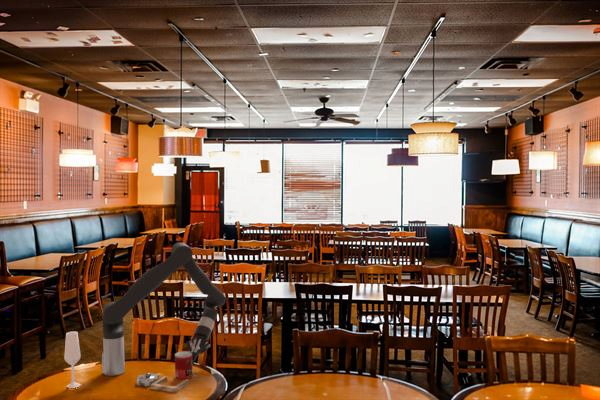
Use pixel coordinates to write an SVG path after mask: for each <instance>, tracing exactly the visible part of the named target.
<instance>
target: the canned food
mask: <svg viewBox="0 0 600 400" xmlns="http://www.w3.org/2000/svg"><path fill="white" fill-rule="evenodd" d="M174 374H175V375H174V377H175V380H177V381H184V380H186V379H188V380H190V379H192V378H193V362H192V353H191V352H190V351H189V350H187V351H186V350H183V351H178V352H176V353H174Z"/></svg>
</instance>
